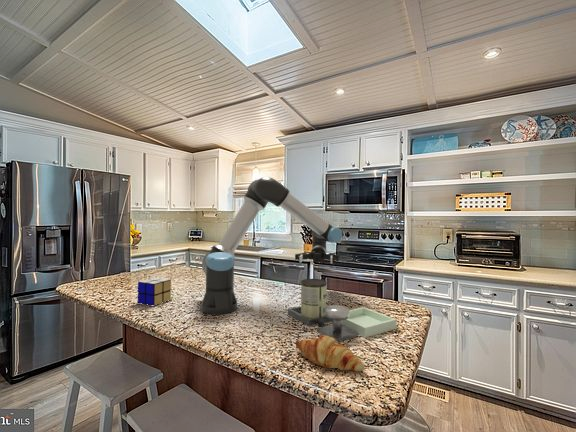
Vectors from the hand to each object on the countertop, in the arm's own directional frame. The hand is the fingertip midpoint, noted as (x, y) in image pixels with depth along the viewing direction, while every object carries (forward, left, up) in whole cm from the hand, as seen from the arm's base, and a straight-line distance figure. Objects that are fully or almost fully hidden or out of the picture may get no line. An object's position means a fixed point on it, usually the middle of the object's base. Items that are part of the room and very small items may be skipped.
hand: (315, 260), depth 125 cm
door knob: (-9, -23, -21) cm, 33 cm away
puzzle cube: (-59, +43, -21) cm, 76 cm away
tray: (+5, -24, -21) cm, 33 cm away
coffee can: (-6, -7, -21) cm, 23 cm away
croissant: (-24, -38, -22) cm, 50 cm away
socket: (-6, -7, -21) cm, 23 cm away
